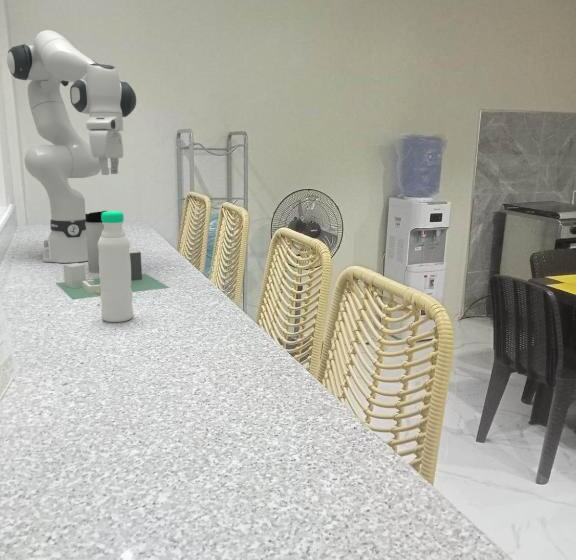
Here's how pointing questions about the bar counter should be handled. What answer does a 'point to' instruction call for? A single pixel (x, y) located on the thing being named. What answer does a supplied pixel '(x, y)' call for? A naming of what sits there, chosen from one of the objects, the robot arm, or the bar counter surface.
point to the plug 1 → (74, 275)
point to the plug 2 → (135, 265)
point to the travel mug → (93, 239)
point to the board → (94, 288)
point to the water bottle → (115, 269)
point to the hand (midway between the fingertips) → (110, 174)
